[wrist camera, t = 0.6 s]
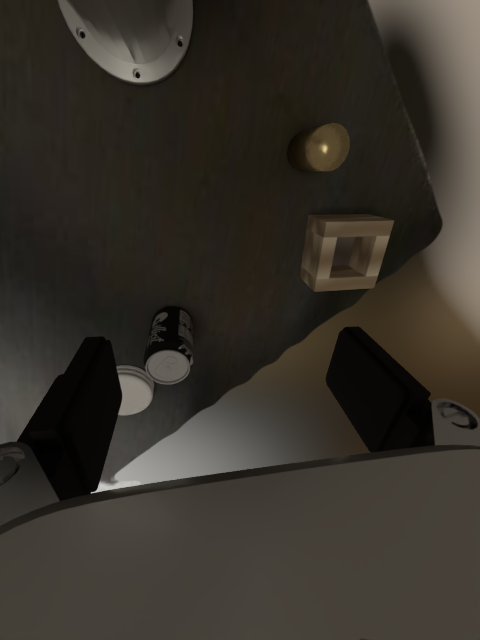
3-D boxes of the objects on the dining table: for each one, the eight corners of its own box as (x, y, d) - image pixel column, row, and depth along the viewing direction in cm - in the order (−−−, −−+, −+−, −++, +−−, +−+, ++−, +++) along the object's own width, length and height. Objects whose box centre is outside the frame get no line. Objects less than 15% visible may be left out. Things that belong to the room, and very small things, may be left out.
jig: (308, 214, 39) (326, 222, 34) (368, 214, 41) (394, 220, 36) (299, 277, 44) (314, 291, 39) (353, 274, 46) (374, 287, 41)
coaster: (120, 354, 46) (115, 367, 43) (165, 380, 51) (163, 393, 48) (87, 387, 49) (80, 401, 46) (133, 409, 53) (129, 423, 50)
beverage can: (148, 332, 45) (136, 381, 35) (158, 300, 42) (149, 343, 32) (185, 342, 47) (184, 390, 37) (197, 311, 44) (200, 354, 34)
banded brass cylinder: (288, 130, 34) (314, 122, 27) (320, 132, 34) (353, 123, 28) (285, 170, 36) (308, 171, 29) (315, 170, 37) (344, 171, 30)
